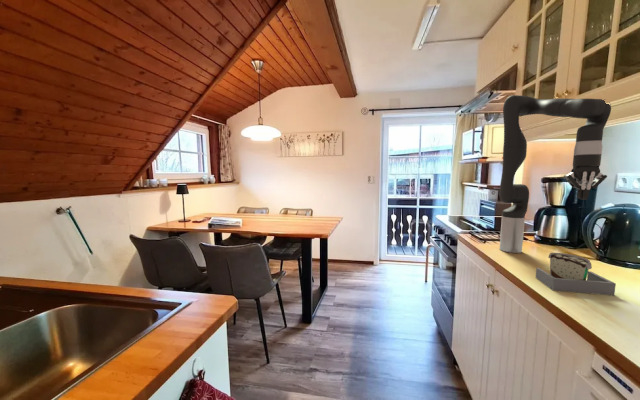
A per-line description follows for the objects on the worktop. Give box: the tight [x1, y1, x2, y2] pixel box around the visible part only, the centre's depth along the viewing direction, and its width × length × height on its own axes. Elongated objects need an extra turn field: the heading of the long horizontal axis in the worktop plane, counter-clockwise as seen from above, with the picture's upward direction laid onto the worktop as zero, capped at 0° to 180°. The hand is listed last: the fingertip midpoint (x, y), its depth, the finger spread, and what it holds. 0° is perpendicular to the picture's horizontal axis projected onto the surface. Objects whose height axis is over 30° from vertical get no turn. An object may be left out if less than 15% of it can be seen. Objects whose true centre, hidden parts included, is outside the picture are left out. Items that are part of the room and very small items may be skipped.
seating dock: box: [535, 267, 616, 296], centre depth 93 cm, size 10×17×4 cm, turn 77°
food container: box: [547, 252, 593, 280], centre depth 94 cm, size 12×6×10 cm, turn 13°
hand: (582, 199), depth 103 cm, fingers closed
